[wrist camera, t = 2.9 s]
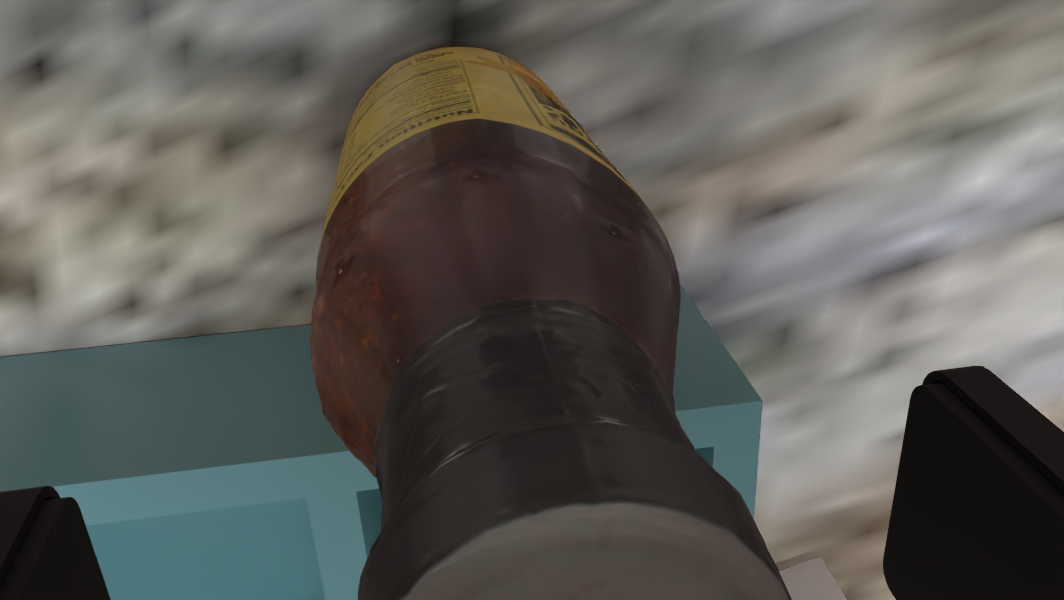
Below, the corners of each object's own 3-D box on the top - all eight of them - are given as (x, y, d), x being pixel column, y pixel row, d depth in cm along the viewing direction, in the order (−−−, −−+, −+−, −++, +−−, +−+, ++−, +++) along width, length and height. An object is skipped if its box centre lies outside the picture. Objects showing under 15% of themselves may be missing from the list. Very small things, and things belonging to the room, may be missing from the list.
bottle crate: (681, 285, 29) (762, 400, 23) (673, 562, 34) (738, 719, 28) (-36, 361, 27) (-167, 513, 20) (68, 646, 32) (-10, 839, 25)
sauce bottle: (575, 226, 28) (919, 877, 10) (370, 265, 27) (344, 1019, 9) (545, 3, 25) (959, 358, 7) (315, 44, 24) (126, 529, 6)
